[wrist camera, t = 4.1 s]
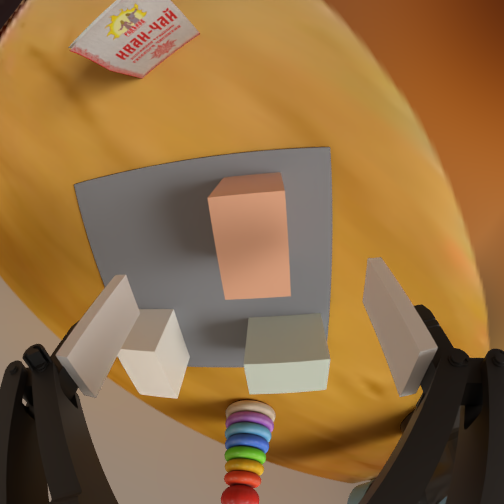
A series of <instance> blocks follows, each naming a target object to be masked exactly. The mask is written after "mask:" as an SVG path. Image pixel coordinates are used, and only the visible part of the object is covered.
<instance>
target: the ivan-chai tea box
mask: <svg viewBox="0 0 504 504" xmlns="http://www.w3.org/2000/svg"><path fill="white" fill-rule="evenodd" d="M199 34H200V33H199V32H198V31H197V29H196V28H195V27H194V26H193V25H192V24H191V22H190V21H189V20H188V19H187V18H186V17H185V16H184V14H183V13H182V12H181V11H180V10H179V9H178V8H177V7H176V6H175V5H174V4H173V3H172V1H171V0H116V1H115V2H114V3H113V4H112V5H111V6H110V7H108V8H107V9H106V10H105V11H104V12H103V13H102V14H101V15H100V16H99V17H97V18H96V19H95V20H94V21H93V22H92V23H91V24H90V25H89V26H88V27H87V28H86V29H85V30H84V31H83V32H82V33H81V34H80V35H79V37H78V38H77V39H76V40H75V41H74V42H73V43H72V44H71V45H70V46H69V47H68V48H71V50H70V51H71V52H74V53H77V54H79V55H81V56H84V57H86V58H88V59H90V60H91V61H93V62H95V63H97V64H99V65H101V66H103V67H104V68H106V69H108V70H110V71H114V72H118V73H122V74H126V75H130V76H134V77H138V78H141V79H142V78H143V77H144V76H145V75H147V74H148V73H149V72H150V71H151V70H153V69H154V68H155V67H156V66H157V65H159V64H160V63H161V62H162V61H164V60H165V59H166V58H167V57H169V56H170V55H171V54H173V53H174V52H175V51H177V50H178V49H179V48H181V47H182V46H183V45H185V44H186V43H188V42H189V41H190V40H192V39H193V38H195V37H196V36H198V35H199Z"/></svg>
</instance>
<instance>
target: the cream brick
mask: <svg viewBox="0 0 504 504" xmlns="http://www.w3.org/2000/svg"><path fill="white" fill-rule="evenodd" d="M139 311H140V315H139V316H138V318H137V320H136V322H135V323H134V325H133V327H132V329H131V331H130V333H129V334H128V336H127V338H126V340H125V342H124V344H123V346H122V347H121V349H120V351H119V353H118V355H117V356H118V358H119V360H120V362H121V363H122V365H123V367H124V369H125V370H126V372H127V374H128V375H129V377H130V379H131V381H132V382H133V384H134V385H135V387H136V389H137V390H138V392H139V393H140V394H142V395H150V396H158V397H167V398H178V395H179V392H180V388H181V385H182V381H183V378H184V375H185V371H186V368H187V365H188V361H189V358H190V356H189V353H188V350H187V347H186V345H185V342H184V339H183V336H182V333H181V330H180V327H179V324H178V321H177V318H176V315H175V312H174V309H139Z"/></svg>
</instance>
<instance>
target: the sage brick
mask: <svg viewBox="0 0 504 504" xmlns="http://www.w3.org/2000/svg"><path fill="white" fill-rule="evenodd" d="M329 365H330V355H329V350H328V345H327V341H326V336H325V331H324V327H323V322H322V317H321V313H315V314H302V315H288V316H272V317H252V318H249V319H248V328H247V338H246V347H245V356H244V369H245V374H246V379H247V384H248V389H249V394H275V393H293V392H307V391H318V390H326V387H327V380H328V373H329Z"/></svg>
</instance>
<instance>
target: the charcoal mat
mask: <svg viewBox="0 0 504 504" xmlns="http://www.w3.org/2000/svg"><path fill="white" fill-rule="evenodd" d="M277 172H281V176H282V180H283V185H284V189H285V199H286V213H287V229H288V246H289V265H290V288H291V296H286V297H271V298H253V299H233V300H225V296H224V291H223V286H222V280H221V275H220V269H219V264H218V258H217V253H216V247H215V241H214V235H213V229H212V223H211V217H210V211H209V205H208V196H209V195H210V194H211V193H212V191H213V190H214V189H215V188H216V186H217V185H218V184H219V183H220V181H221V180H222V179H223V178H224V177H232V176H242V175H253V174H264V173H277ZM74 187H75V191H76V196H77V200H78V204H79V208H80V211H81V215H82V219H83V222H84V226H85V229H86V233H87V236H88V239H89V242H90V246H91V249H92V252H93V255H94V258H95V261H96V264H97V267H98V269H99V272H100V275H101V278H102V280H103V283H104V286H105V287H106V286H107V285H108V284H109V282H110V281H111V280H112V279H113V277H114V276H115V275H126V276H127V279H128V282H129V284H130V287H131V290H132V293H133V295H134V298H135V301H136V303H137V306H138V308H139V309H174V312H175V315H176V318H177V321H178V324H179V327H180V330H181V333H182V336H183V339H184V342H185V345H186V347H187V350H188V353H189V356H190V358H189V361H188V365H187V366H191V367H244V356H245V347H246V338H247V328H248V319H249V318H252V317H272V316H288V315H302V314H315V313H321V317H322V322H323V327H324V331H325V336H326V341H327V336H328V323H329V309H330V291H331V267H332V179H331V156H330V147H313V148H293V149H277V150H265V151H254V152H244V153H234V154H226V155H218V156H210V157H203V158H196V159H190V160H183V161H177V162H171V163H166V164H160V165H155V166H149V167H144V168H140V169H135V170H130V171H125V172H121V173H117V174H112V175H108V176H104V177H100V178H96V179H92V180H88V181H84V182H81V183H77V184H74Z"/></svg>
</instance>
